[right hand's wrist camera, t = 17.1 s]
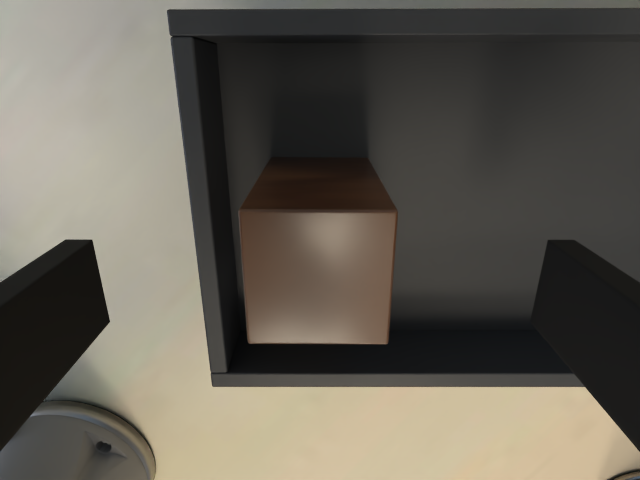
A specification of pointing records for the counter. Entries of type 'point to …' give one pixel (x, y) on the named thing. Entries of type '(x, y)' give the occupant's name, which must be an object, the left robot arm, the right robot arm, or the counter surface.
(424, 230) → the tray
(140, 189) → the counter surface
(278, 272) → the block
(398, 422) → the counter surface
